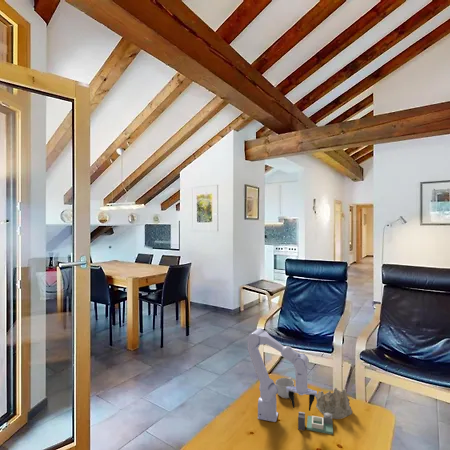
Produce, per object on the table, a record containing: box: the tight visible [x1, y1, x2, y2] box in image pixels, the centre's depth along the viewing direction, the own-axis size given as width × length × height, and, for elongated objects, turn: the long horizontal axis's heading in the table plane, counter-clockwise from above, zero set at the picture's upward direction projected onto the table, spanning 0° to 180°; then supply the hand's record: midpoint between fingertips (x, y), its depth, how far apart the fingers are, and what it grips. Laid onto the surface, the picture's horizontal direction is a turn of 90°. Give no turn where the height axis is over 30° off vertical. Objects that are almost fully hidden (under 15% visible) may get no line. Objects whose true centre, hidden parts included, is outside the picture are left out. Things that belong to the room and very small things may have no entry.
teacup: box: [274, 376, 295, 399], centre depth 182 cm, size 14×11×8 cm
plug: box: [297, 411, 306, 432], centre depth 153 cm, size 3×4×7 cm
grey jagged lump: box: [315, 387, 353, 420], centre depth 167 cm, size 16×16×15 cm
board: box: [306, 413, 334, 435], centre depth 154 cm, size 12×10×4 cm
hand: (301, 408), depth 153 cm, fingers open, 7 cm apart
